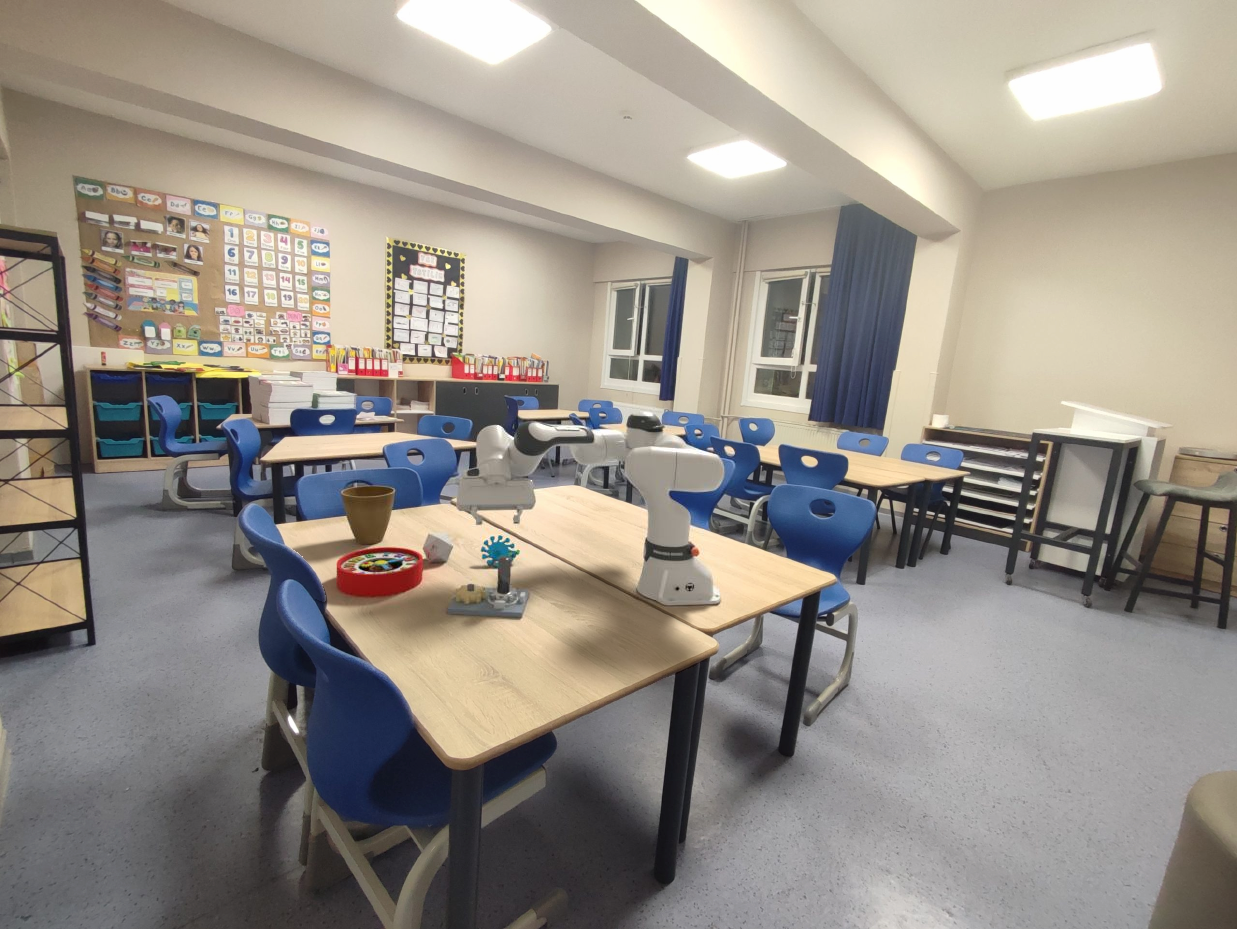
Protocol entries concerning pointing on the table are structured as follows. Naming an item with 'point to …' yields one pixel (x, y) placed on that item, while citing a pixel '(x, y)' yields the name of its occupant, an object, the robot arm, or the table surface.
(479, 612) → the gear board
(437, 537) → the die
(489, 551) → the virus model
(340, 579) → the toy clock
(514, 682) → the table surface
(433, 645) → the table surface
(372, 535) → the plant pot
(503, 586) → the gear
